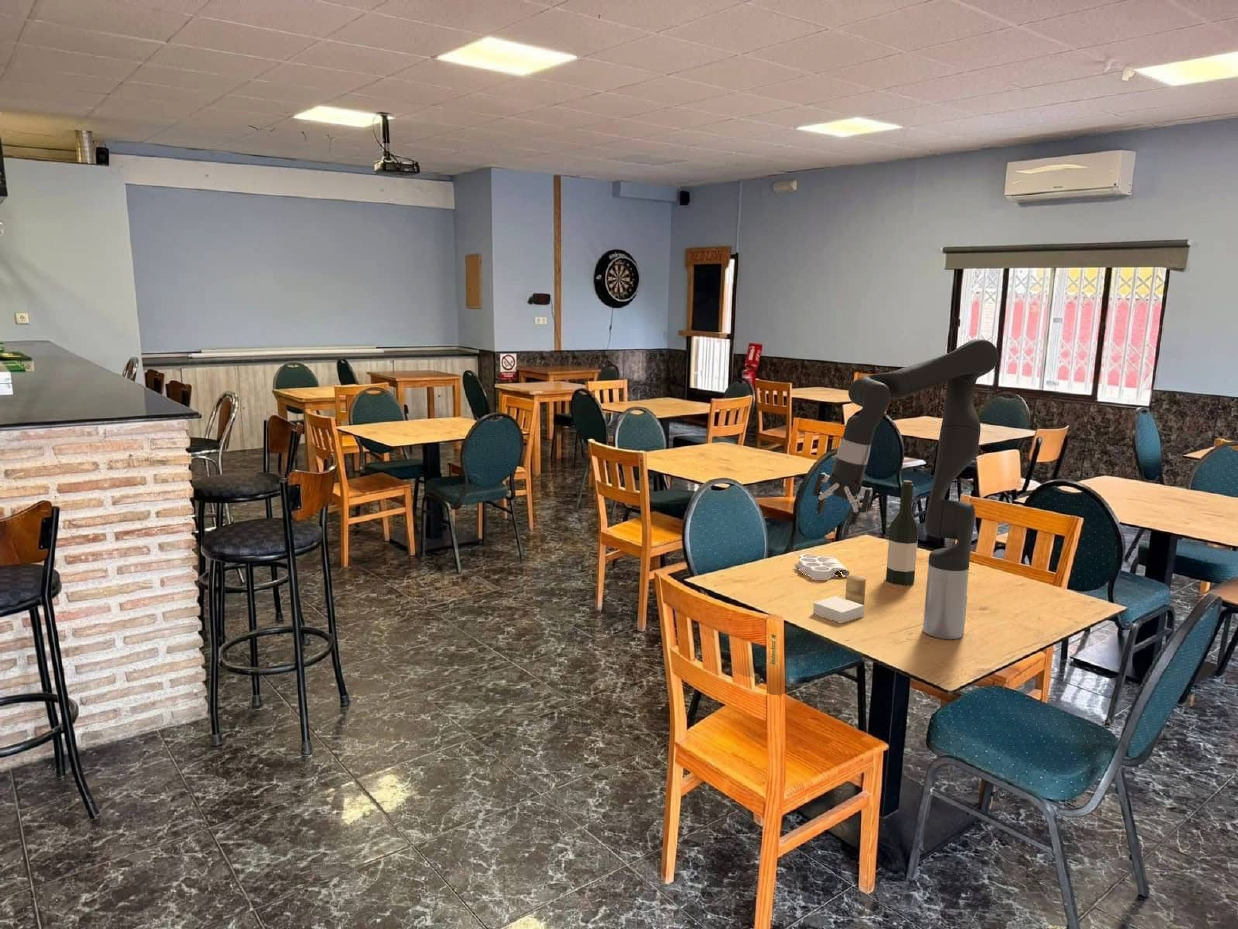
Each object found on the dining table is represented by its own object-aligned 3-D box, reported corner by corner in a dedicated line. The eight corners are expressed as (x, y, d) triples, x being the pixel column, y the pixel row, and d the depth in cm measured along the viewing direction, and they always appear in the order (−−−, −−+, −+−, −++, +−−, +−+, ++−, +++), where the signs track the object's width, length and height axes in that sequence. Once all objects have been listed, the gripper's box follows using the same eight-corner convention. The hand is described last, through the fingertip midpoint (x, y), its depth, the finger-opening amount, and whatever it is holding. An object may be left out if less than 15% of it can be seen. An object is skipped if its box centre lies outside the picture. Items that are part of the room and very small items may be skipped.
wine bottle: (919, 586, 240) (927, 484, 235) (890, 585, 240) (897, 483, 235) (909, 576, 248) (917, 478, 243) (881, 576, 248) (888, 478, 243)
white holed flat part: (852, 582, 244) (803, 582, 243) (834, 563, 262) (788, 564, 261) (853, 571, 244) (804, 571, 243) (834, 553, 261) (788, 553, 261)
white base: (834, 606, 222) (835, 595, 222) (863, 616, 215) (864, 605, 215) (813, 613, 217) (813, 602, 216) (841, 623, 210) (842, 612, 209)
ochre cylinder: (852, 599, 228) (854, 574, 227) (868, 604, 224) (869, 579, 223) (841, 602, 225) (842, 577, 224) (856, 608, 221) (858, 582, 220)
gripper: (884, 465, 205) (867, 526, 209) (831, 448, 212) (815, 508, 217) (874, 468, 199) (856, 531, 203) (819, 451, 206) (803, 512, 211)
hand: (835, 519), depth 210 cm, fingers open, 8 cm apart
